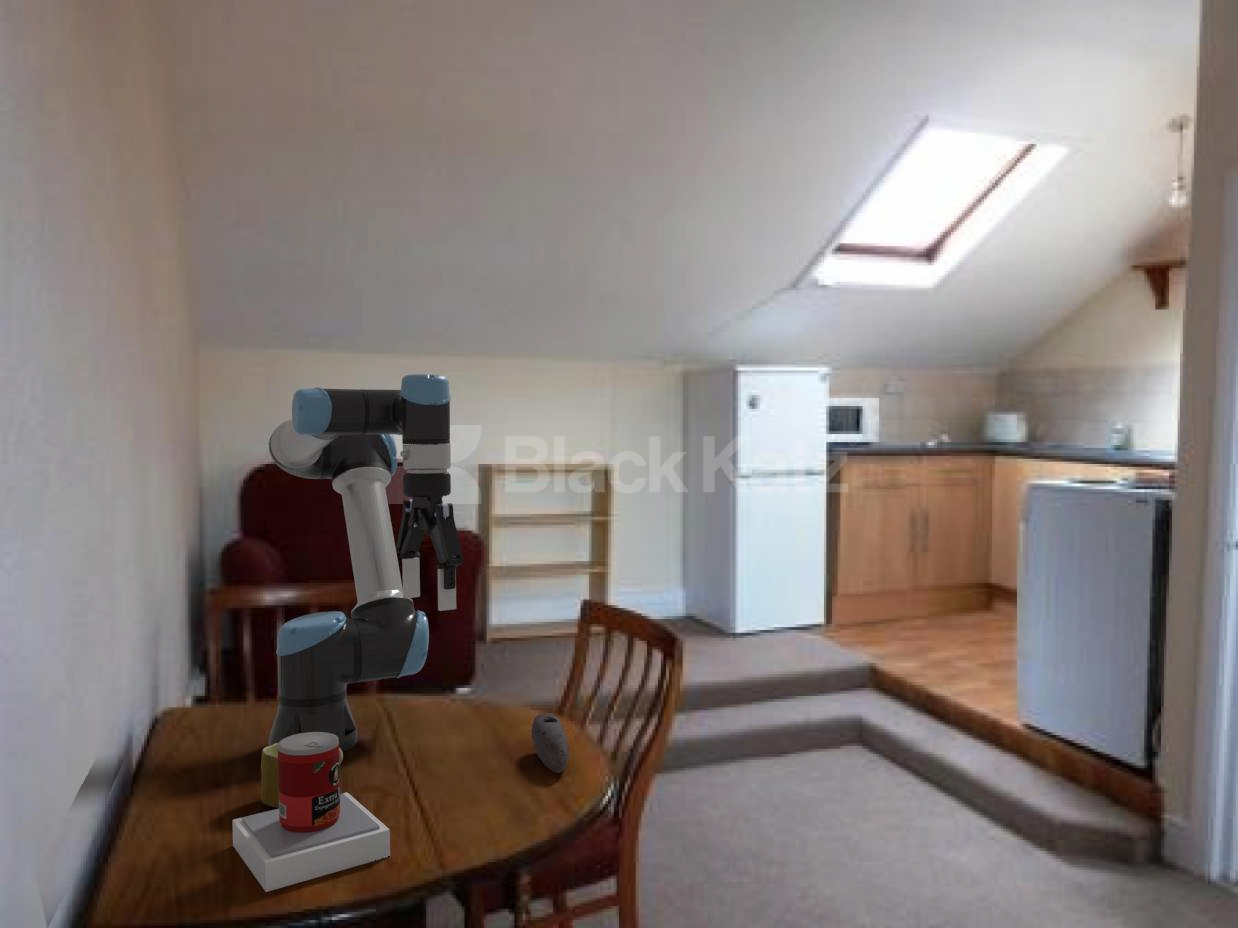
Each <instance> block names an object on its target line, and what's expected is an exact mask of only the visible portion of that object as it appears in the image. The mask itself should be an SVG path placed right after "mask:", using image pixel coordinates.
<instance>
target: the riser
mask: <svg viewBox="0 0 1238 928" xmlns="http://www.w3.org/2000/svg"><path fill="white" fill-rule="evenodd" d="M231 823H232V824H231V825H232V847H233V848H234V850H235V851H236V852H237V853H238V855H239V856H240V858H241V859H242V861H243V862H244V863H245V865H246V866H247V868H248V869H249V871H251V874H252V875H253V876H254V878H255V879H256V880H257V882H258V883H259V885H260V886H261V887H262V889H263V890H264V892H265V893H267V892H271V891H274V890H275V891H276V890H278V889H282V888H285V887H289V886H292V885H295V884H299V883H302V882H306V881H309V880H313V879H316V878H320V877H323V876H326V875H330V874H334V873H337V872H340V871H344V870H347V869H351V868H354V867H359V866H362V865H365V864H369V863H371V862H376V861H379V860H383V859H387V858H389V857H388V856H390V857H391V829H390V828H388V826H386V825H385V824H384V823H383V822H382V821H381V820H379V819H378V818H377V817H376V816H375V815H374V814H373V813H371V812H370V811H369V810H368V808H366V807H365V806H363V805H362V804H361V803H360V802H359V801H358V800H357V799H356V798H355V797H353V796H352V795H351V794H350V793H348V791H347V792H343V793H340V815H339V818H338V820H337V822H336V823H335V824H333V825H332V826H330V827H328V828H325V829H322V830H319V831H314V832H292V831H288V830H286V829H284V828H283V827H282V825H281V822H280V819H279V808H275V809H271V810H268V811H263V812H259V813H255V814H251V815H247V816H243V817H238V818H234V819H232V822H231ZM382 858H383V859H382ZM375 860H376V861H375Z"/></svg>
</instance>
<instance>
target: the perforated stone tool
mask: <svg viewBox="0 0 1238 928" xmlns="http://www.w3.org/2000/svg"><path fill="white" fill-rule="evenodd" d="M531 742H532V745H533V747H534V750H535V753H536V755H537V757H538V758H539V760H540V761H541V762H542V763H543V764H544V766H545V767H546V768H547V769H549V770H550V771H551V772H553V773H555V774H559V773H562V772H563V771H564V770H565V768H566V767H567V764H568V760H569V745H568V739H567V737H566V732H565V729H564V728H563V725H562V723H561V721H559V719H558V717H556V715H554V714H553V713H550V712H549V713H547V712H541V713H539V714H537V715H536V716H535V717H534V719H533V723H532V727H531Z"/></svg>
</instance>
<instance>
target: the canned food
mask: <svg viewBox="0 0 1238 928" xmlns="http://www.w3.org/2000/svg"><path fill="white" fill-rule="evenodd" d="M340 765H341V763H340V760H339V740H338V737H337V736H336V735H334V734H331V733H326V732H307V733H300V734H295V735H292V736H289V737H286V738H284V739H282V740H281V741H280V742H279V743H278V785H279V808H278V809H279V819H280V822H281V825H282V827H283V828H284V829H286V830H288V831H292V832H314V831H319V830H322V829H325V828H328V827H330V826H332V825H333V824H335V823H336V822H337V820H338V818H339V815H340V794H341V782H340V779H341V775H340V774H341V773H340V772H341V771H340V769H341V768H340V767H341V766H340Z"/></svg>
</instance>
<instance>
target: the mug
mask: <svg viewBox="0 0 1238 928" xmlns="http://www.w3.org/2000/svg"><path fill="white" fill-rule="evenodd" d="M343 758H344V752H342V751H341V749H340V748H339V760H340V764H341V763H342V761H343ZM260 761H261V762H260V771H261V772H260V773H261V774H260V775H261V778H260V780H261V782H260V783H261V785H260V800H261V803H262V804H263V805H264V806H268V807H270V808H275V809H279V785H278V743H275V744H273V745H272V746H269V745H268V746H266V747H263V749H262V750H261V760H260Z"/></svg>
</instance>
